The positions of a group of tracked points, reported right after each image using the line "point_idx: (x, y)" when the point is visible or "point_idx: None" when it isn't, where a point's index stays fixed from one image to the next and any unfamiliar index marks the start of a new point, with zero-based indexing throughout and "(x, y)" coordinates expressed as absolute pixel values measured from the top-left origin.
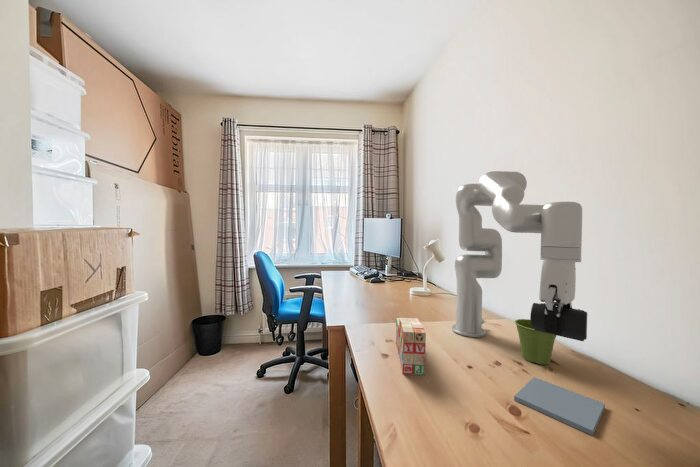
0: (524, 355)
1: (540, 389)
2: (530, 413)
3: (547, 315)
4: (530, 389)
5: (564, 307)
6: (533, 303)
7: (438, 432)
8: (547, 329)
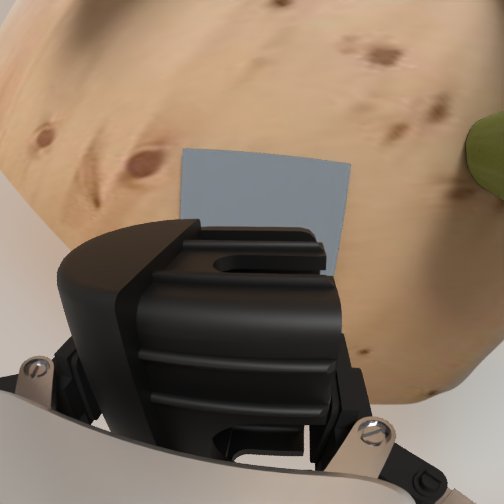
0: (477, 124)
1: (280, 191)
2: (160, 192)
3: (63, 363)
4: (256, 170)
5: (325, 463)
6: (99, 299)
7: (9, 113)
8: None
